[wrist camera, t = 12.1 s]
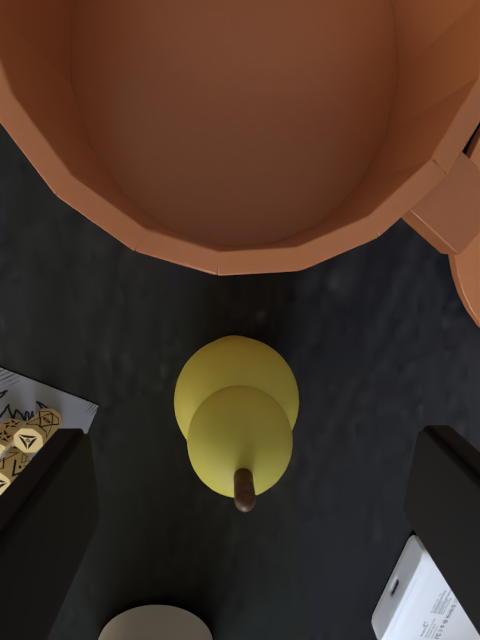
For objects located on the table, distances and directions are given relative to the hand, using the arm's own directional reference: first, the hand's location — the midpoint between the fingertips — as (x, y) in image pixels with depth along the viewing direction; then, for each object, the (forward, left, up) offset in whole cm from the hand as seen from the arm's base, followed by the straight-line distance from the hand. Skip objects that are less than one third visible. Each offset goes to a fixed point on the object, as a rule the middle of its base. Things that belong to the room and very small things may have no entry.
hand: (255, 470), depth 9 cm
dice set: (+12, -8, -9) cm, 17 cm away
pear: (+1, 0, -9) cm, 9 cm away
